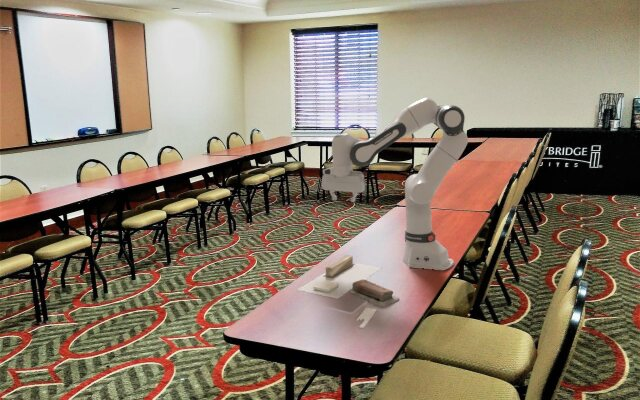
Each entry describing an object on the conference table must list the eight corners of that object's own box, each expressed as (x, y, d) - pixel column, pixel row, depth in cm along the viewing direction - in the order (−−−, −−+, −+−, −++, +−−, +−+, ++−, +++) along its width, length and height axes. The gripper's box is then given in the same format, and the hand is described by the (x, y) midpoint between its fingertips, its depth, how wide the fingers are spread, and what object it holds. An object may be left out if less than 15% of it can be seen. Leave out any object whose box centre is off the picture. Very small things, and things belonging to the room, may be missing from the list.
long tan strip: (352, 264, 234) (352, 255, 233) (331, 277, 219) (331, 268, 218) (346, 263, 235) (346, 254, 235) (325, 276, 221) (325, 267, 220)
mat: (381, 268, 228) (381, 267, 228) (337, 299, 197) (337, 298, 197) (344, 262, 239) (344, 261, 238) (296, 290, 207) (296, 289, 207)
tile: (339, 283, 209) (328, 289, 203) (339, 286, 210) (328, 292, 203) (324, 280, 213) (313, 286, 206) (324, 282, 213) (313, 289, 207)
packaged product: (347, 282, 202) (366, 276, 208) (348, 294, 203) (366, 287, 209) (380, 296, 188) (399, 289, 194) (380, 308, 189) (399, 301, 195)
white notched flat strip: (349, 327, 176) (349, 324, 175) (363, 309, 189) (363, 307, 189) (363, 329, 174) (363, 326, 173) (377, 311, 187) (377, 308, 187)
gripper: (366, 170, 228) (367, 201, 231) (326, 168, 238) (328, 197, 241) (360, 172, 222) (361, 204, 225) (319, 170, 233) (320, 200, 236)
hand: (343, 200), depth 233 cm, fingers open, 8 cm apart
